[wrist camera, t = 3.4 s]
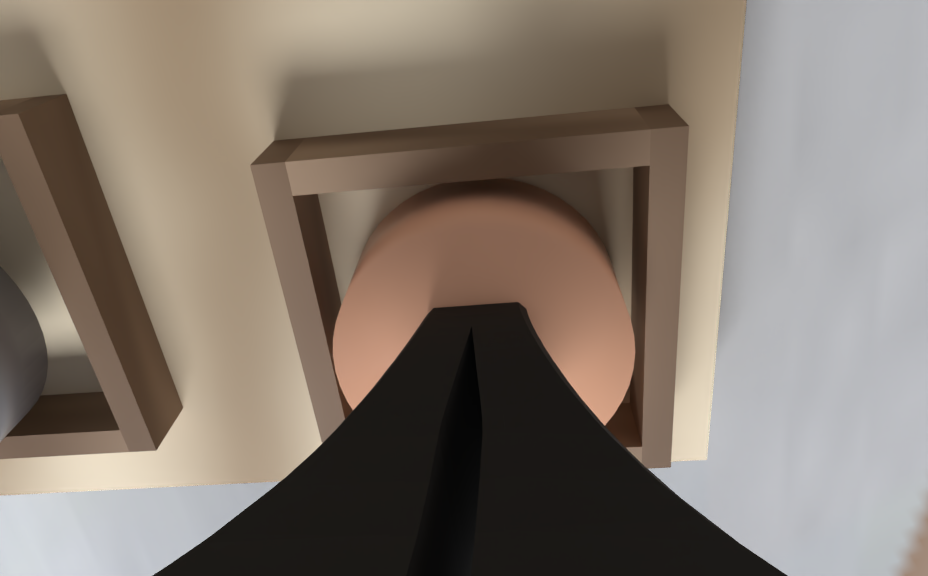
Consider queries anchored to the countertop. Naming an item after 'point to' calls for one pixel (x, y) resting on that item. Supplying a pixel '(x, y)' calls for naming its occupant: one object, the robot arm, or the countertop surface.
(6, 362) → the charcoal button
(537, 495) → the robot arm
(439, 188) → the terracotta button
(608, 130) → the button panel
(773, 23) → the countertop surface
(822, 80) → the countertop surface
